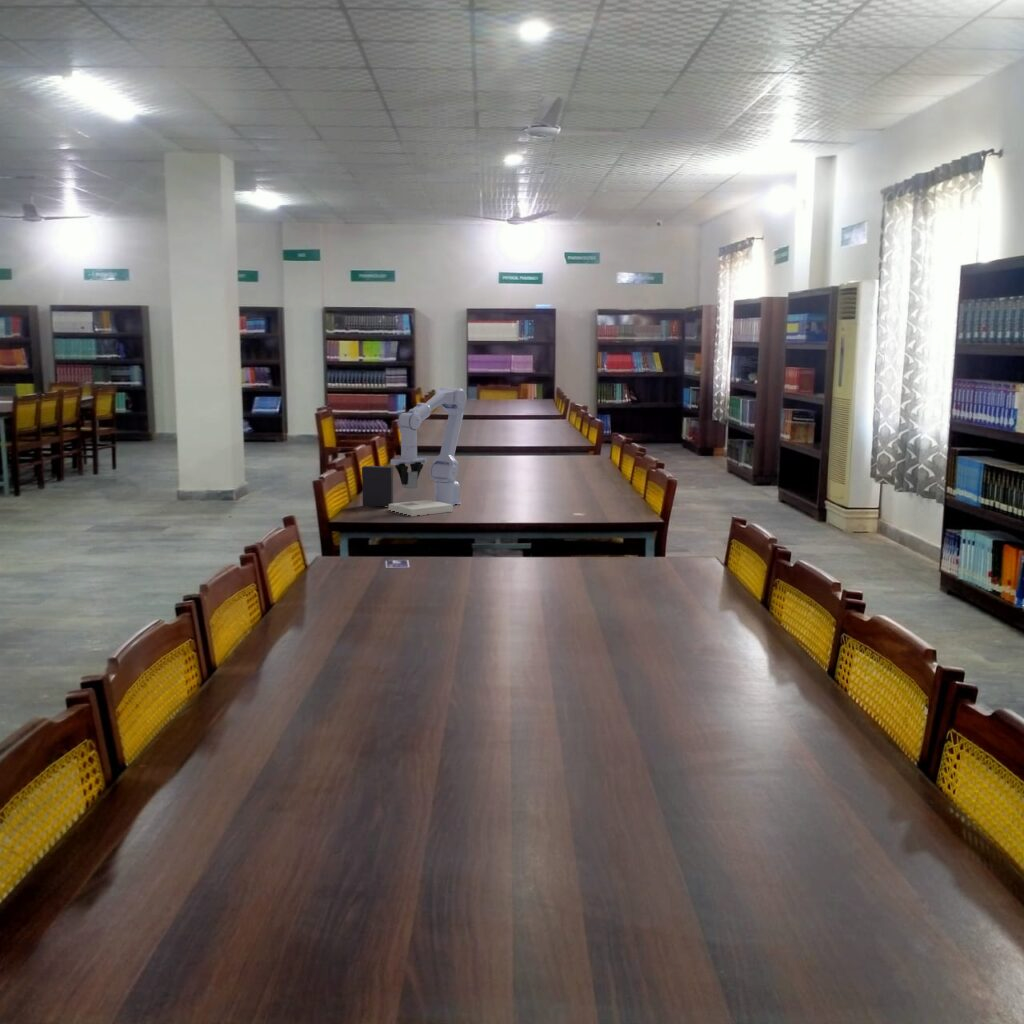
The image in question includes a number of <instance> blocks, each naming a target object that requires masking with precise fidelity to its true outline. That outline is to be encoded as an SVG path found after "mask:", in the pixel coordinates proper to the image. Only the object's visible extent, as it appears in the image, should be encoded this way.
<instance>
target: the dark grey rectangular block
mask: <svg viewBox="0 0 1024 1024" xmlns="http://www.w3.org/2000/svg"><path fill="white" fill-rule="evenodd" d="M361 479H362V484H361V485H362V487H361V488H362V507H363V506H388V507H387V508H389V504H393V503H394V468H393V466H390V465H389V466H387V465H386V466H383V465H379V466H378V465H364V466H362V467H361Z"/></svg>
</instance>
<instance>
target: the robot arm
mask: <svg viewBox="0 0 1024 1024" xmlns="http://www.w3.org/2000/svg"><path fill="white" fill-rule="evenodd" d="M467 399H468V397H467V395H466V392H465V390H464V389H463V388H448V387H441V388H439V389H438V390H436V392H435V394H434V395H433V396H432V397H431V398H430V399H429V400H427V401H426V402H418V403H416V406H414V407H413V408H410V409H408V411H407V412H403V413H401V414H399V416H398V420H397V423H396V424H397V427H398V428H399V433H400V441H401V442H400V450H401V451H400V455H401V457H400V458H392V459H390V466H394V467H395V469H396V471H397V473H398V475H399V479H400V483H401V485H402V484H404V485H406V482H407V471H408V470H409V469H408V468H409V466H408V465H410V470H413V471H417V472H418V478H419V477H420V474H421V471H422V469H423V468H424V464H428V457H425V456H422V457H418V429H419V428H420V427H421V424H422V423H423V422H424V421H425V420H426V419H427V418H429V417H430V416H431V414H432V411H433V410H435V409H436V408H438V407H442V408H443V410H444V411H445V412H446V413H447V414H448V416H447V417H448V418H447V422H446V426H445V429H444V430H445V431H444V435H443V438H442V439H443V440H442V444H441V448H440V453H439V455H437V456H436V457H435V458H433V462H432V464H431V465H430V468H429V475H430V477H431V479H432V481H433V482H434V483H433V484H434V488H433V489H434V492H433V493H434V495H433V496H434V497H433V498H434V499H433V501H438V502H442V503H447V504H451V505H453V506H455V504H457V505H462V502H461V485H460V483H459V482H458V481H457V480H456V479H457V478H458V475H459V462H458V460H456V458H455V453H456V449H457V446H458V445H457V444H458V442H459V435H460V431H461V427H462V422H463V419H464V412H465V408H466V404H467V403H466V402H467Z"/></svg>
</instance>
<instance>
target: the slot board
mask: <svg viewBox="0 0 1024 1024" xmlns="http://www.w3.org/2000/svg"><path fill="white" fill-rule="evenodd" d="M389 510H391V511H390V512H392V511H395V512H394V513H396V512H399V513H398V514H400V513H403V514H402V515H404V514H407V515H406V516H408V515H411V516H410V517H418V516H417V515H420V516H426V515H427V514H429V515H434V514H436V515H437V514H444V513H445V514H446V513H453V512H454V505H451V504H447V503H442V502H438V501H434V499H433V500H432V499H425V500H424V499H423V500H413V501H404V502H393V504H389V507H388V511H389Z"/></svg>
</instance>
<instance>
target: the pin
mask: <svg viewBox="0 0 1024 1024" xmlns="http://www.w3.org/2000/svg"><path fill="white" fill-rule="evenodd" d="M418 479H419V477H418V472H417V471H413V470H411V469H408V470H407V482H406V485H404V484H402V483H401V488H404V489H407V490H408V489H409V490H410V489H417V488H418V481H419V480H418Z"/></svg>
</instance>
